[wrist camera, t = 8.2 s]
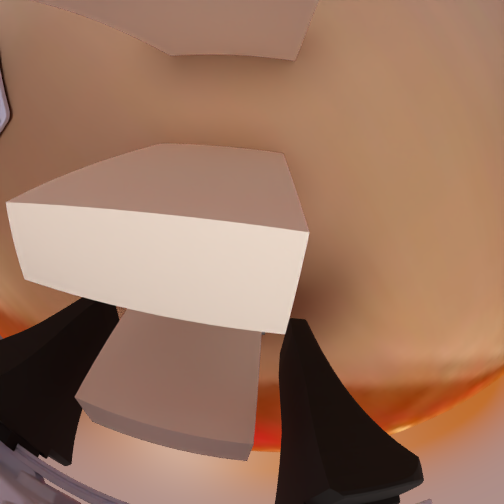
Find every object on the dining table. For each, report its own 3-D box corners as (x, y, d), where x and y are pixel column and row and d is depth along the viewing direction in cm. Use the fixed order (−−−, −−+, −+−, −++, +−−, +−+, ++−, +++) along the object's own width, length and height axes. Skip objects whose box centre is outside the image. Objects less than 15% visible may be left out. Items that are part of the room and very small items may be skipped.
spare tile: (161, 259, 12) (74, 396, 5) (265, 274, 12) (253, 444, 5) (162, 286, 13) (92, 421, 6) (260, 301, 13) (246, 461, 6)
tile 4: (162, 143, 10) (5, 202, 3) (283, 153, 10) (310, 232, 3) (161, 179, 11) (24, 278, 4) (277, 191, 11) (284, 334, 4)
